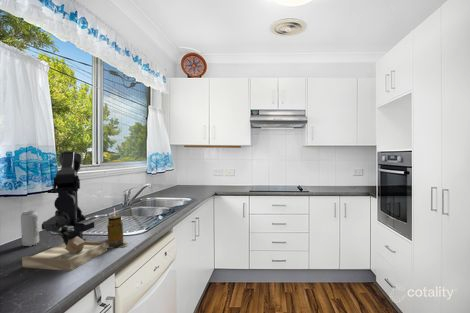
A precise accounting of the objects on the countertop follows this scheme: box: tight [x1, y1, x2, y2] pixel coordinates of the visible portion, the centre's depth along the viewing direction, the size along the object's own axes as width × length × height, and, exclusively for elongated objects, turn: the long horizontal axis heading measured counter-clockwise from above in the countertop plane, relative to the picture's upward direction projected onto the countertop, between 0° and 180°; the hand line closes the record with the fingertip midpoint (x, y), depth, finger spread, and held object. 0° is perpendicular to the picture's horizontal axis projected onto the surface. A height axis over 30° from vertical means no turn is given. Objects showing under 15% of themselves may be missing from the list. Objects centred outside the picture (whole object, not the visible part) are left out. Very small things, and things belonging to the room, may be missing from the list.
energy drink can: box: [20, 209, 40, 247], centre depth 118 cm, size 6×6×15 cm
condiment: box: [106, 215, 131, 249], centre depth 114 cm, size 7×8×12 cm
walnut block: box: [66, 236, 87, 255], centre depth 100 cm, size 4×4×4 cm
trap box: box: [21, 240, 108, 272], centre depth 101 cm, size 18×20×4 cm
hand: (68, 247), depth 101 cm, fingers closed
